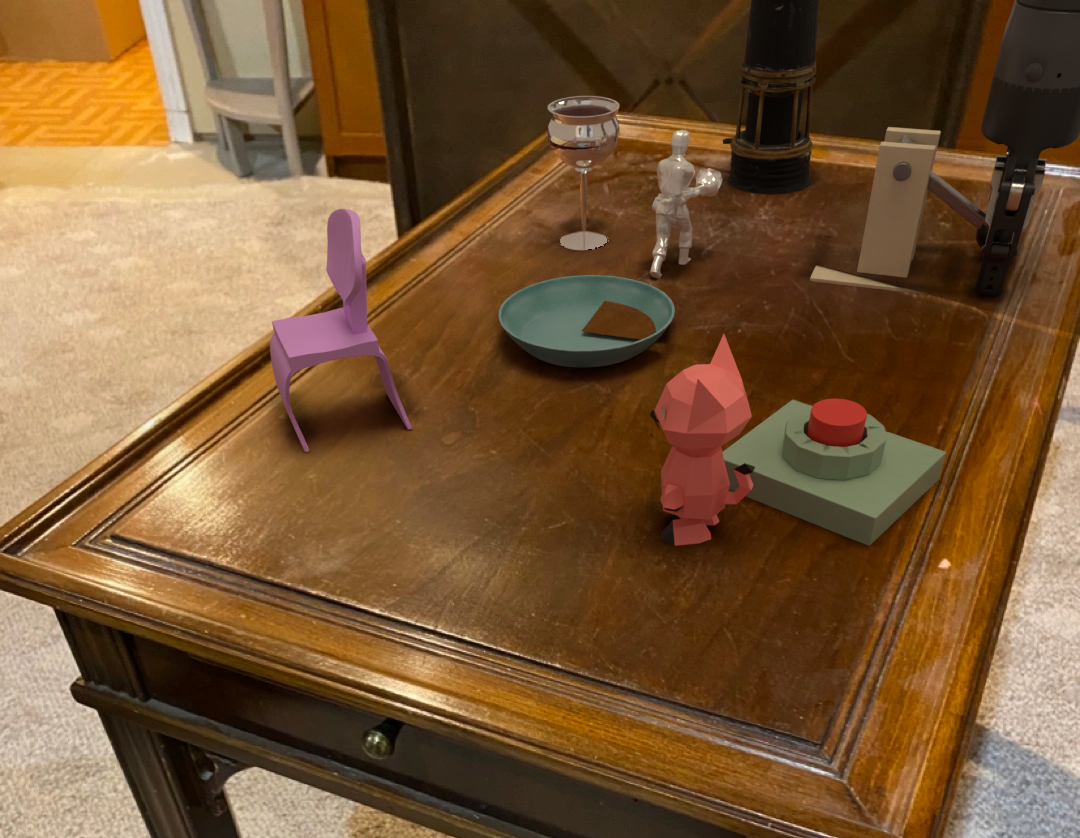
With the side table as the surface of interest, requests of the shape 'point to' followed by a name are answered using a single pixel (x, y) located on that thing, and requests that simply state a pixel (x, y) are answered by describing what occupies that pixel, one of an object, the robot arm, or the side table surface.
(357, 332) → the toy chair
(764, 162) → the lantern
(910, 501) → the button block
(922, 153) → the bracket
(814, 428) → the button
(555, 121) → the wineglass
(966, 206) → the lever
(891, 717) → the side table surface
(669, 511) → the cat figurine
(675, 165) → the figurine
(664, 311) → the saucer
